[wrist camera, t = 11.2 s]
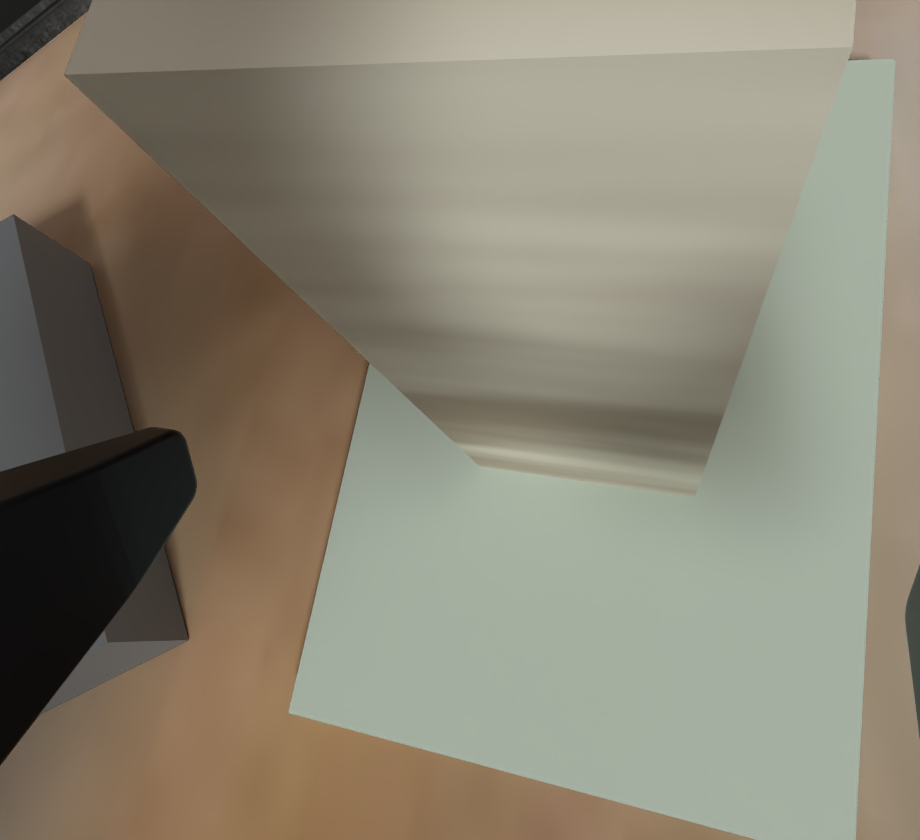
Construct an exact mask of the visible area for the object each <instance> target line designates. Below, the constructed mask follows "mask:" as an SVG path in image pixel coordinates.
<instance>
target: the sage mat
mask: <svg viewBox="0 0 920 840" xmlns="http://www.w3.org/2000/svg"><path fill="white" fill-rule="evenodd" d="M894 78H895V59H877V60H848V62H847V65H846V68H845V71H844V73H843V76H842V79H841V82H840V85H839V88H838V91H837V93H836V96H835V99H834V102H833V105H832V108H831V110H830V113H829V116H828V119H827V122H826V125H825V128H824V130H823V133H822V136H821V139H820V142H819V145H818V148H817V150H816V153H815V156H814V159H813V162H812V165H811V167H810V170H809V173H808V176H807V179H806V182H805V185H804V187H803V190H802V193H801V196H800V199H799V202H798V205H797V207H796V210H795V213H794V216H793V219H792V222H791V225H790V227H789V230H788V233H787V236H786V239H785V242H784V244H783V247H782V250H781V253H780V256H779V259H778V262H777V264H776V267H775V270H774V273H773V276H772V279H771V282H770V284H769V287H768V290H767V293H766V296H765V299H764V302H763V304H762V307H761V310H760V313H759V316H758V319H757V321H756V324H755V327H754V330H753V333H752V336H751V339H750V341H749V344H748V347H747V350H746V353H745V356H744V359H743V361H742V364H741V367H740V370H739V373H738V376H737V379H736V381H735V384H734V387H733V390H732V393H731V396H730V398H729V401H728V404H727V407H726V410H725V413H724V416H723V418H722V421H721V424H720V427H719V430H718V433H717V436H716V438H715V441H714V444H713V447H712V450H711V453H710V456H709V458H708V461H707V464H706V467H705V470H704V473H703V475H702V478H701V481H700V484H699V487H698V490H697V493H696V495H695V497H691V496H684V495H677V494H670V493H663V492H656V491H649V490H642V489H635V488H628V487H620V486H613V485H606V484H599V483H592V482H585V481H578V480H571V479H564V478H557V477H550V476H543V475H536V474H529V473H522V472H515V471H508V470H501V469H494V468H487V467H480V466H479V465H477V464H476V463H475V462H474V461H473V460H472V459H471V458H470V457H469V456H468V455H467V454H466V453H465V452H464V451H463V450H462V449H461V448H459V447H458V446H457V445H456V444H455V443H454V442H453V441H452V440H451V439H450V438H449V437H448V436H447V435H446V434H445V433H444V432H442V431H441V430H440V429H439V428H438V427H437V426H436V425H435V424H434V423H433V422H432V421H431V420H430V419H429V418H428V417H427V416H425V415H424V414H423V413H422V412H421V411H420V410H419V409H418V408H417V407H416V406H415V405H414V404H413V403H412V402H411V401H410V400H409V399H407V398H406V397H405V396H404V395H403V394H402V393H401V392H400V391H399V390H398V389H397V388H396V387H395V386H394V385H393V384H392V383H390V382H389V381H388V380H387V379H386V378H385V377H384V376H383V375H382V374H381V373H380V372H379V371H378V370H377V369H376V368H375V367H373V366H372V365H371V364H370V363H369V368H368V372H367V376H366V381H365V385H364V389H363V393H362V398H361V402H360V406H359V411H358V415H357V419H356V424H355V428H354V432H353V437H352V441H351V445H350V450H349V454H348V458H347V462H346V467H345V471H344V475H343V480H342V484H341V488H340V493H339V497H338V501H337V506H336V510H335V514H334V518H333V523H332V527H331V531H330V536H329V540H328V544H327V549H326V553H325V557H324V562H323V566H322V570H321V575H320V579H319V583H318V587H317V592H316V596H315V600H314V605H313V609H312V613H311V618H310V622H309V626H308V631H307V635H306V639H305V644H304V648H303V652H302V656H301V661H300V665H299V669H298V674H297V678H296V682H295V687H294V691H293V695H292V700H291V704H290V708H289V712H288V713H291V714H294V715H298V716H302V717H305V718H309V719H313V720H317V721H320V722H324V723H328V724H331V725H335V726H339V727H342V728H346V729H350V730H354V731H357V732H361V733H365V734H368V735H372V736H376V737H379V738H383V739H387V740H390V741H394V742H398V743H402V744H405V745H409V746H413V747H416V748H420V749H424V750H427V751H431V752H435V753H439V754H442V755H446V756H450V757H453V758H457V759H461V760H464V761H468V762H472V763H475V764H479V765H483V766H487V767H490V768H494V769H498V770H501V771H505V772H509V773H512V774H516V775H520V776H524V777H527V778H531V779H535V780H538V781H542V782H546V783H549V784H553V785H557V786H560V787H564V788H568V789H572V790H575V791H579V792H583V793H586V794H590V795H594V796H597V797H601V798H605V799H609V800H612V801H616V802H620V803H623V804H627V805H631V806H634V807H638V808H642V809H645V810H649V811H653V812H657V813H660V814H664V815H668V816H671V817H675V818H679V819H682V820H686V821H690V822H694V823H697V824H701V825H705V826H708V827H712V828H716V829H719V830H723V831H727V832H730V833H734V834H738V835H742V836H745V837H749V838H753V839H756V840H855V839H856V819H857V800H858V780H859V761H860V741H861V722H862V702H863V683H864V663H865V644H866V624H867V605H868V585H869V566H870V546H871V527H872V507H873V488H874V468H875V449H876V429H877V410H878V390H879V371H880V351H881V332H882V312H883V293H884V273H885V254H886V234H887V215H888V195H889V175H890V156H891V136H892V117H893V97H894Z"/></svg>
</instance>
